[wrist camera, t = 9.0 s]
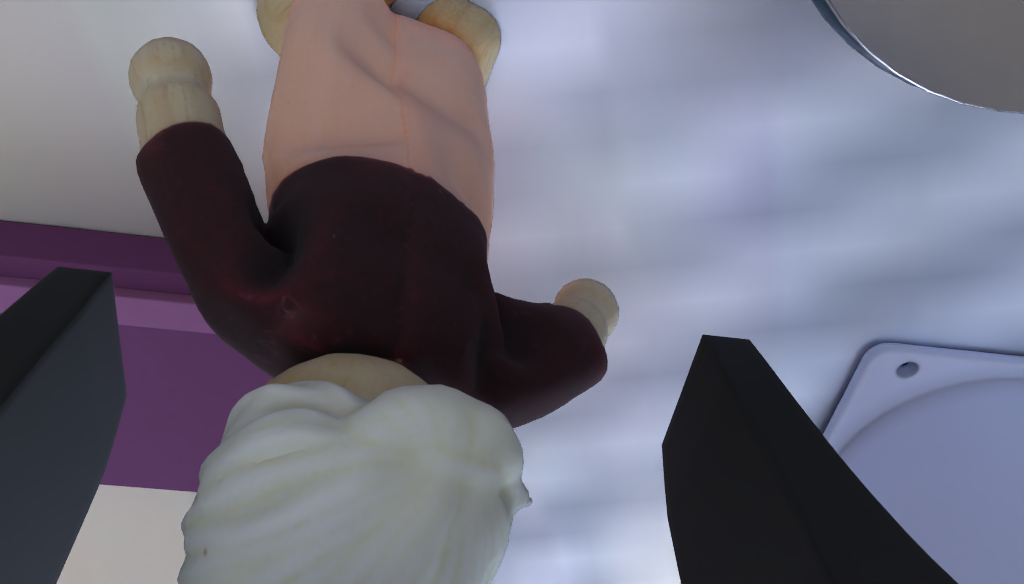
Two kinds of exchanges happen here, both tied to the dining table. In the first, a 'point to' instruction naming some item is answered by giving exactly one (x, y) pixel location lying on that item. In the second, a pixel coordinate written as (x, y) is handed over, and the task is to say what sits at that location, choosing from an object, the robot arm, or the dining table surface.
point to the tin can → (941, 45)
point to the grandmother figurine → (358, 301)
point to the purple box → (144, 349)
